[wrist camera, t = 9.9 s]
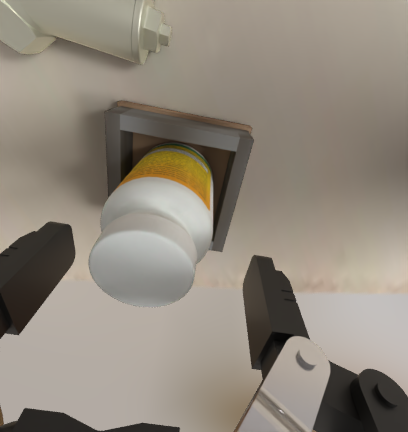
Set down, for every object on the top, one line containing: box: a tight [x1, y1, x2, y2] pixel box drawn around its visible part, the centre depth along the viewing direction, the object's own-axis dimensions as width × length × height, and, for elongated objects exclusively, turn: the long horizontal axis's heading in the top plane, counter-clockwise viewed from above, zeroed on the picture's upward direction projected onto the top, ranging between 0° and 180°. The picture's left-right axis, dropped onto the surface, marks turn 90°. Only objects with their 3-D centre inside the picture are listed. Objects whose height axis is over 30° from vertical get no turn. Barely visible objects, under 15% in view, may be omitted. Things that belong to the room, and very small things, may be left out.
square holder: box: [105, 100, 254, 252], centre depth 16 cm, size 9×9×3 cm
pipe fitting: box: [0, 0, 172, 65], centre depth 12 cm, size 8×4×7 cm
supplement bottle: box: [89, 142, 214, 307], centre depth 13 cm, size 5×5×10 cm
